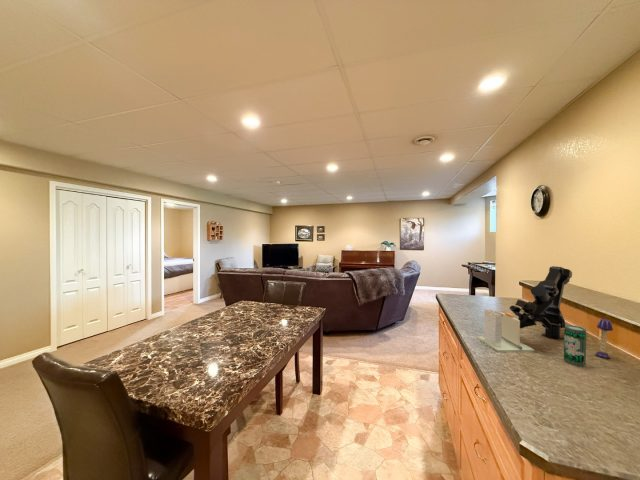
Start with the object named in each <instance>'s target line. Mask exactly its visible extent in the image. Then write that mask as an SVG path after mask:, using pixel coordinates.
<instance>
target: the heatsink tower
mask: <svg viewBox="0 0 640 480" xmlns="http://www.w3.org/2000/svg"><path fill="white" fill-rule="evenodd" d="M483 313H484V315H483V318H484V319H483V320H484V321H483V322H484V326H483V327H484V328H483V330H484V331H483V336H484V340H486V341H488V342H489V343H491V344H492V345H494V346H495V347H502V316H503V315H502V314H500V312H497V311H493V310H492V309H484V310H483Z"/></svg>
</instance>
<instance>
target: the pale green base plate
mask: <svg viewBox="0 0 640 480" xmlns="http://www.w3.org/2000/svg"><path fill="white" fill-rule="evenodd" d="M477 338H478V339H477ZM476 339H477V340H479V341H480V342H482V343H483V344H485V345H486V346H487V347H489V348H490V349H493V351H495V352H496V353H535V349H534V348H532V347H530V346H528V345H526V344H524V343H523V342H521V341H520V346H519V347H517V346H515V345H514V344H512V343H510V342H508V341H507V340H505V339H503V338H502V347H495V346H494V345H492V344H491V343H489V342H488V341H486V340H484V335H482V336H480V335H479V336H476Z"/></svg>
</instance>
